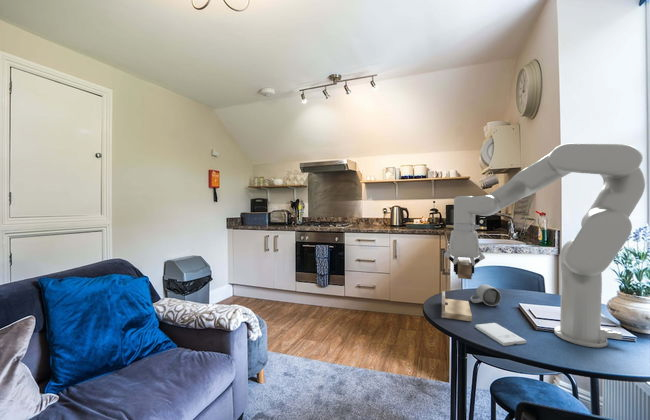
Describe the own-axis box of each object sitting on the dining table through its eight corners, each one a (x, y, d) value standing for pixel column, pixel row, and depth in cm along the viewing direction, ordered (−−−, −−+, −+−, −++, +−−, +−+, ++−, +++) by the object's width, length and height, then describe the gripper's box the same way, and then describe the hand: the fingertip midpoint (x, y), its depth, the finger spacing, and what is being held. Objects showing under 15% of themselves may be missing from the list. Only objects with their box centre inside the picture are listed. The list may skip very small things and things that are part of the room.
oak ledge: (468, 305, 117) (468, 294, 117) (471, 321, 102) (471, 308, 102) (441, 302, 121) (442, 291, 121) (441, 317, 106) (441, 304, 106)
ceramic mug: (492, 299, 124) (492, 282, 124) (501, 306, 116) (501, 288, 116) (467, 299, 125) (467, 282, 125) (474, 306, 117) (474, 288, 117)
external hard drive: (495, 327, 99) (526, 344, 87) (475, 329, 97) (503, 347, 85) (495, 322, 99) (526, 339, 87) (475, 324, 97) (503, 342, 85)
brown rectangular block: (468, 272, 113) (468, 259, 113) (471, 279, 103) (471, 265, 103) (456, 271, 115) (456, 258, 115) (458, 278, 105) (458, 264, 105)
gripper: (487, 227, 108) (487, 274, 109) (440, 226, 115) (440, 270, 116) (490, 229, 101) (489, 279, 102) (440, 228, 108) (440, 274, 109)
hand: (463, 273), depth 109 cm, fingers closed on brown rectangular block, 4 cm apart
